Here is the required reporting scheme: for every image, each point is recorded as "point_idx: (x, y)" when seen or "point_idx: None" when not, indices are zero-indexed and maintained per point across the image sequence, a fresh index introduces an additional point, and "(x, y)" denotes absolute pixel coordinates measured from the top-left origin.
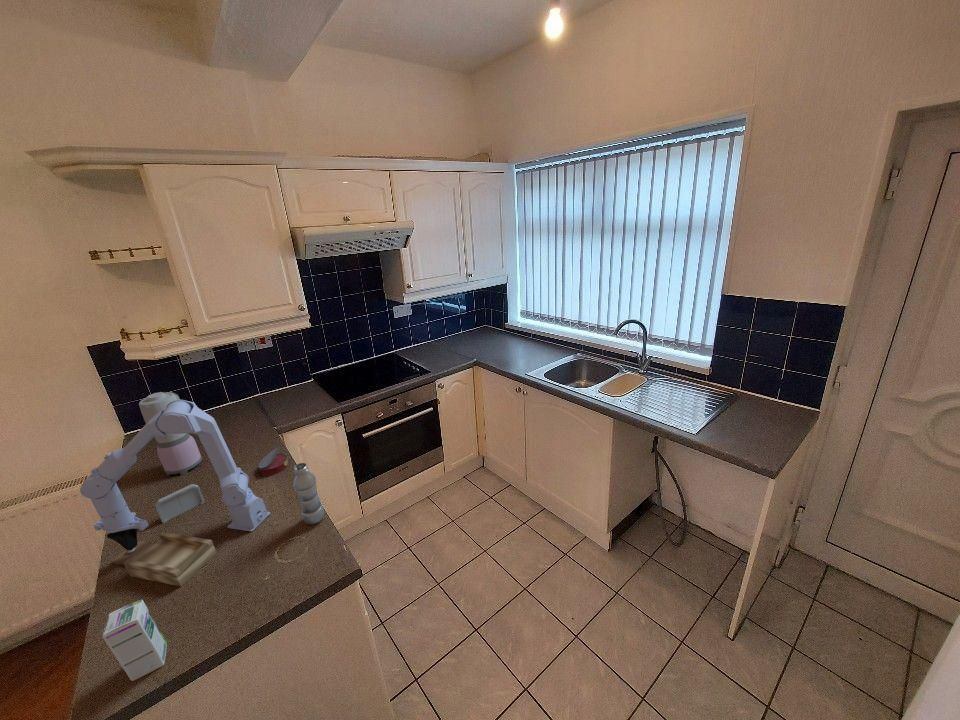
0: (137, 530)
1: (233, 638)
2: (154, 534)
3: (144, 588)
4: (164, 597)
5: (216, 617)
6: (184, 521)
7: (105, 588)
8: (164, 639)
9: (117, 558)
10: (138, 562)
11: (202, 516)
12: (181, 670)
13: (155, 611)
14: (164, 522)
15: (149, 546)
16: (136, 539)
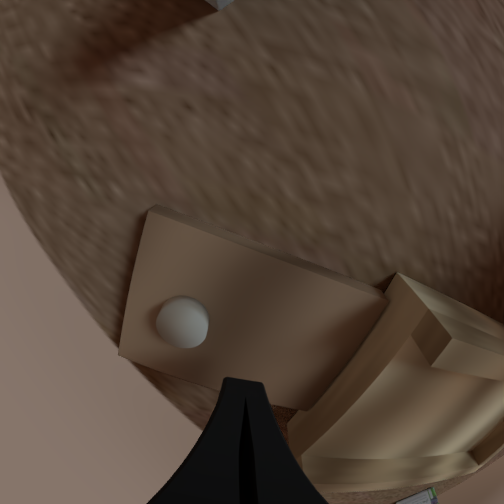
0: (320, 494)
1: (497, 459)
2: (223, 126)
3: None
4: None
5: None
6: (396, 42)
7: None
8: (436, 496)
9: (138, 349)
10: (366, 485)
11: (481, 52)
12: (446, 490)
13: None
14: (227, 4)
15: (293, 297)
16: (275, 424)
